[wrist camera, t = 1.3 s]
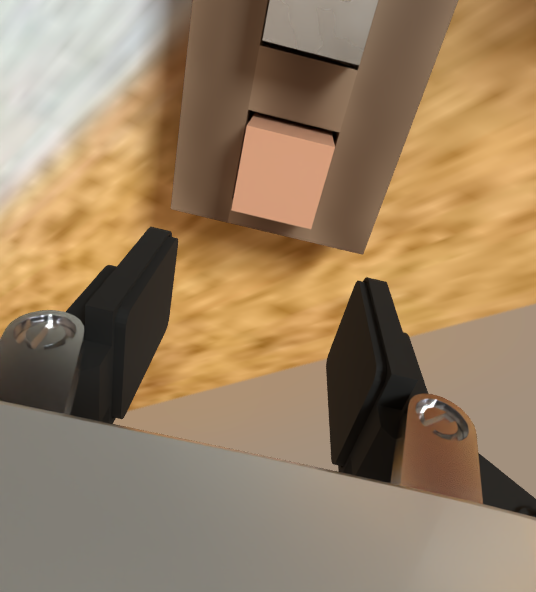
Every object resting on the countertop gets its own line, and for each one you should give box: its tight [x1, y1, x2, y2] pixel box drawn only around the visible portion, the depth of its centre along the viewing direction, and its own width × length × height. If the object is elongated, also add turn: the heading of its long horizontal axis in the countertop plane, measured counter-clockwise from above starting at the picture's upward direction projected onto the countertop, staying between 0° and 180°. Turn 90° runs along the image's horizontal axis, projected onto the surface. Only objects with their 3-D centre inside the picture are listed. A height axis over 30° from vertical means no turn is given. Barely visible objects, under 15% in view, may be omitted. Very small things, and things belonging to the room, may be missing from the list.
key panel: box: [171, 0, 458, 255], centre depth 22 cm, size 12×24×5 cm, turn 168°
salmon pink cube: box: [231, 113, 335, 229], centre depth 24 cm, size 4×4×4 cm
